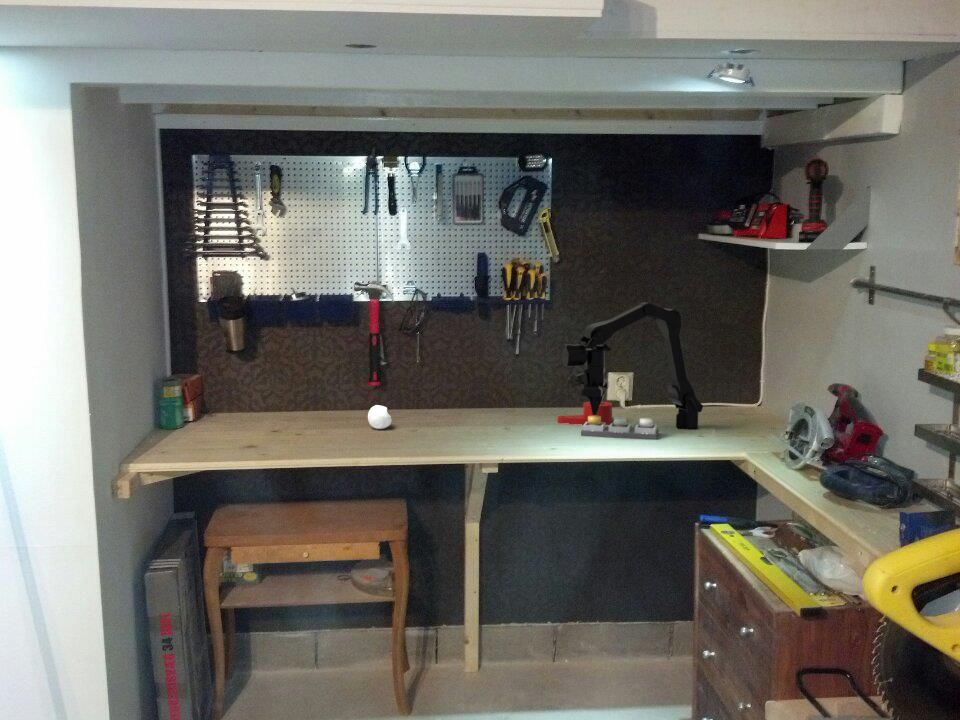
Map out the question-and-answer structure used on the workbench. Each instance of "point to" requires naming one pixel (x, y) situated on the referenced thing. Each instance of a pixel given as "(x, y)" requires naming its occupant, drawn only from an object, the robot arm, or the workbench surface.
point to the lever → (589, 414)
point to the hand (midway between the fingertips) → (594, 414)
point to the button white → (646, 422)
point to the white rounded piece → (379, 417)
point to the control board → (619, 431)
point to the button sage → (620, 421)
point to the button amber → (594, 419)
